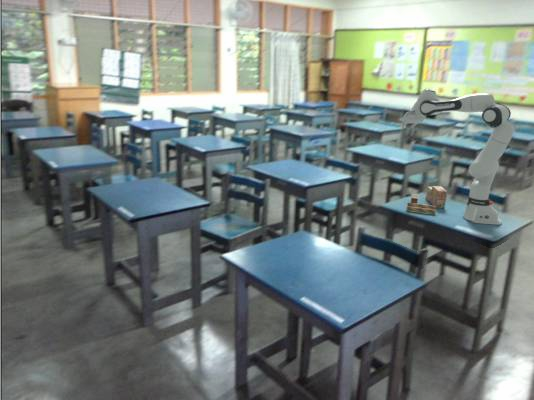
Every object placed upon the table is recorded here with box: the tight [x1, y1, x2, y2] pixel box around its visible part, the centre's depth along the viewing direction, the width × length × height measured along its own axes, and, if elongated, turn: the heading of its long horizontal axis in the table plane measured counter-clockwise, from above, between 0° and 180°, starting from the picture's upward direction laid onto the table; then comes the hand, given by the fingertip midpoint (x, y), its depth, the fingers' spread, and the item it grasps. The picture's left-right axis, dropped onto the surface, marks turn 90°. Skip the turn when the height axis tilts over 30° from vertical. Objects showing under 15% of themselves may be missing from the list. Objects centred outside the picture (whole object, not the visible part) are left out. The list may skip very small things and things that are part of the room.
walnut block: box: [410, 193, 419, 204], centre depth 308 cm, size 12×4×6 cm, turn 162°
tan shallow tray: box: [406, 202, 436, 216], centre depth 294 cm, size 18×10×3 cm, turn 70°
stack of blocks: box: [425, 185, 448, 209], centre depth 311 cm, size 21×6×12 cm, turn 179°
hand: (407, 127), depth 306 cm, fingers open, 8 cm apart
